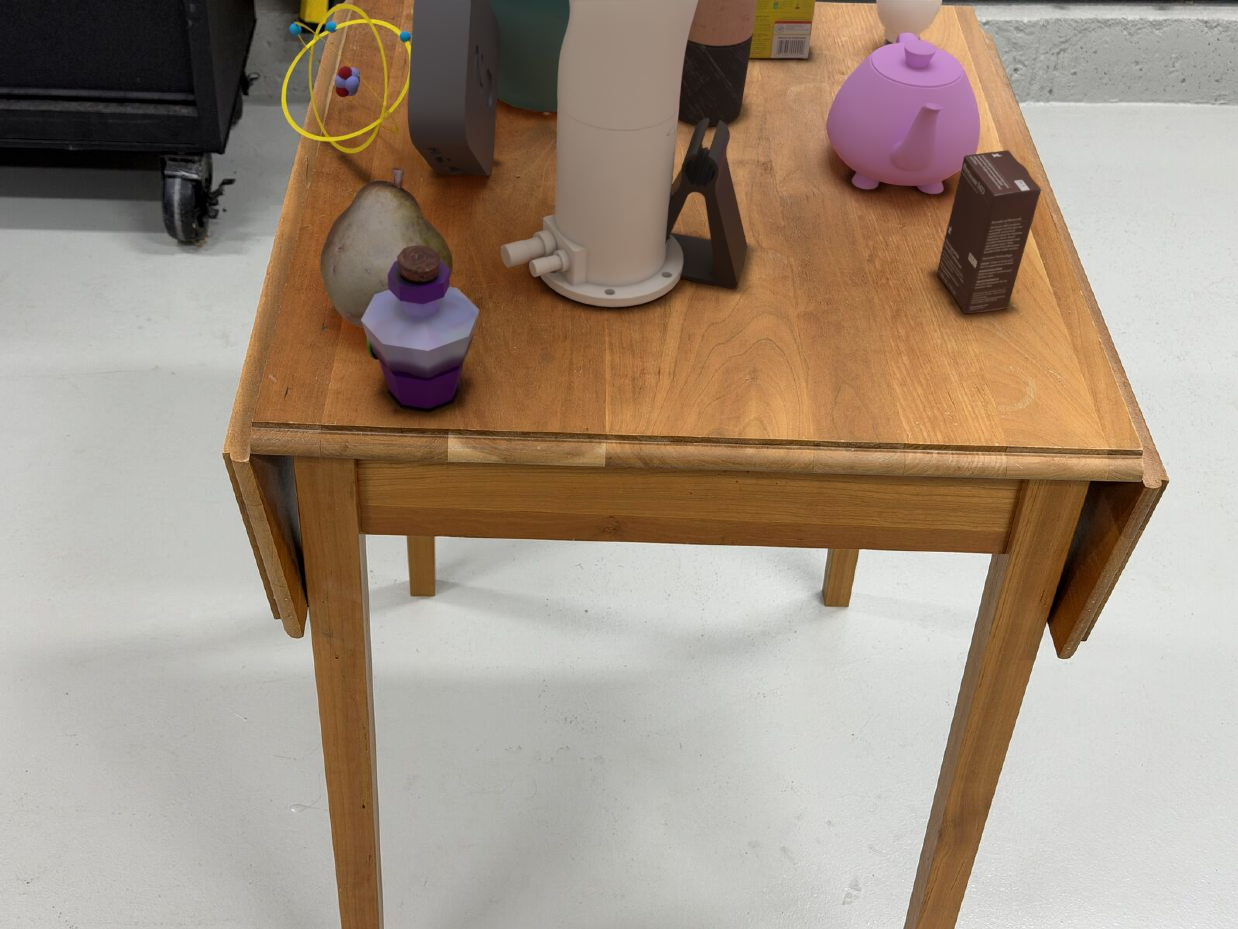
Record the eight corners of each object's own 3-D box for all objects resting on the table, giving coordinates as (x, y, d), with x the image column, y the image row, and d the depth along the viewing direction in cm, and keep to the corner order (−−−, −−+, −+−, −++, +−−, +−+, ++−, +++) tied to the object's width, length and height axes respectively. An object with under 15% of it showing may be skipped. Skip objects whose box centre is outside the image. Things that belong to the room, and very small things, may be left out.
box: (931, 275, 121) (962, 152, 113) (979, 269, 122) (1013, 147, 114) (960, 317, 117) (994, 193, 109) (1010, 311, 118) (1047, 187, 110)
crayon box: (803, 46, 151) (820, -60, 143) (808, 59, 149) (825, -48, 141) (735, 45, 150) (748, -62, 142) (739, 58, 148) (752, -49, 140)
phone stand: (747, 250, 122) (768, 128, 114) (736, 289, 118) (758, 165, 110) (646, 231, 123) (660, 108, 115) (632, 269, 119) (646, 144, 111)
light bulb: (931, 73, 148) (954, -28, 140) (867, 67, 148) (886, -33, 141) (926, 43, 153) (947, -56, 145) (864, 38, 153) (882, -61, 145)
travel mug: (745, 130, 137) (770, -72, 124) (667, 125, 137) (684, -77, 123) (741, 91, 143) (765, -106, 129) (666, 87, 143) (682, -111, 129)
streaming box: (446, 28, 131) (501, 29, 131) (437, 180, 130) (492, 182, 130) (411, -36, 117) (473, -35, 116) (401, 135, 116) (462, 136, 115)
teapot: (984, 236, 126) (1019, 111, 117) (827, 225, 126) (850, 99, 117) (956, 123, 140) (985, 5, 132) (815, 113, 140) (835, -6, 132)
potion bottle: (362, 359, 109) (351, 226, 101) (472, 349, 111) (470, 218, 103) (372, 430, 103) (361, 295, 95) (489, 419, 104) (488, 285, 96)
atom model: (272, -40, 126) (251, 103, 134) (292, 22, 115) (267, 175, 122) (420, -11, 132) (391, 125, 139) (452, 51, 121) (419, 195, 128)
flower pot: (654, 60, 146) (667, -104, 135) (611, 145, 134) (621, -27, 122) (489, 32, 149) (487, -131, 137) (431, 113, 136) (424, -59, 125)
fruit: (458, 283, 116) (454, 156, 108) (448, 354, 110) (443, 225, 101) (334, 277, 116) (320, 150, 108) (316, 349, 109) (300, 218, 101)
